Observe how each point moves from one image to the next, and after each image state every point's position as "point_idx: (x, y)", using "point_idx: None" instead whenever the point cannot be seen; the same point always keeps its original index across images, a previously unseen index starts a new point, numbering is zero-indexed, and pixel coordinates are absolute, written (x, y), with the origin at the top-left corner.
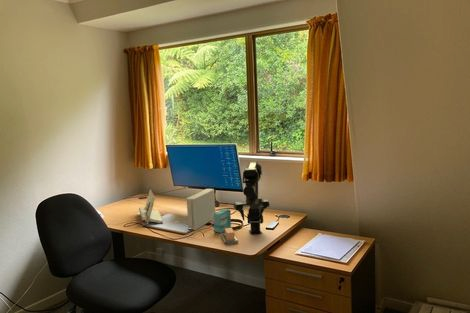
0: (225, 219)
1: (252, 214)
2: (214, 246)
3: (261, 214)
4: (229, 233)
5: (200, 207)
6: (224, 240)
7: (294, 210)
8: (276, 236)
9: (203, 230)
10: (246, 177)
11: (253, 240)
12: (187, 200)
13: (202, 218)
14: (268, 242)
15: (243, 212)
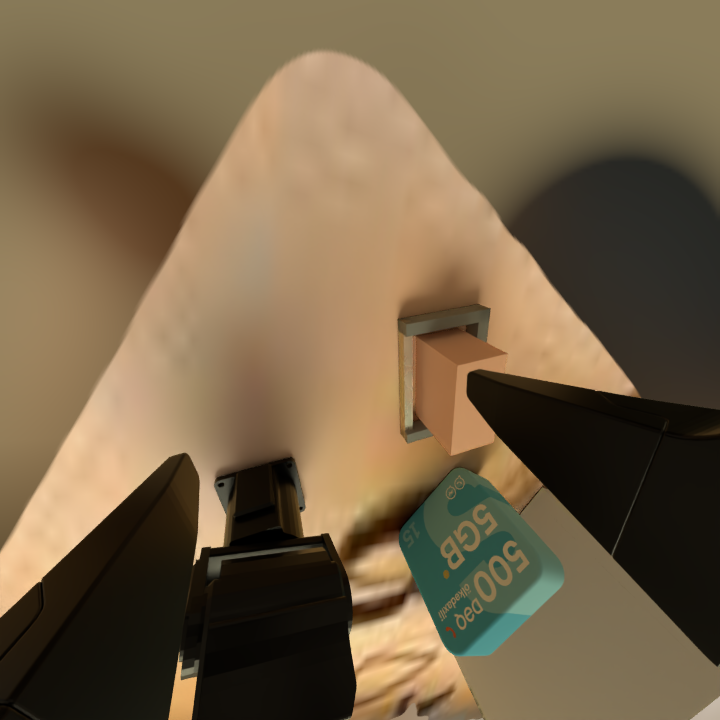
0: (462, 559)
1: (302, 619)
2: (534, 285)
3: (100, 538)
4: (487, 355)
5: (593, 629)
6: (484, 337)
7: None
8: (77, 434)
9: (513, 491)
10: None
11: (286, 360)
12: None
13: None
14: (150, 307)
15: (677, 431)
